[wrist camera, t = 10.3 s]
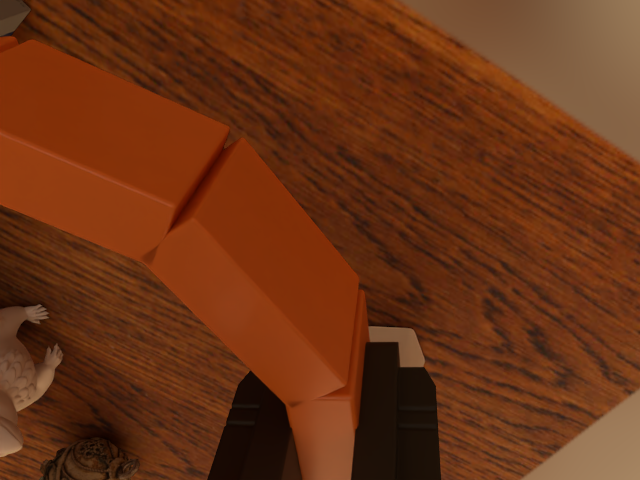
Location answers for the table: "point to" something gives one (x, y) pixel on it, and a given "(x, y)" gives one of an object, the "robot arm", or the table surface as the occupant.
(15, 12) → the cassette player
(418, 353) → the perfume bottle
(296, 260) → the hoop
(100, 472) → the pendant
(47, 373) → the figurine
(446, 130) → the table surface
